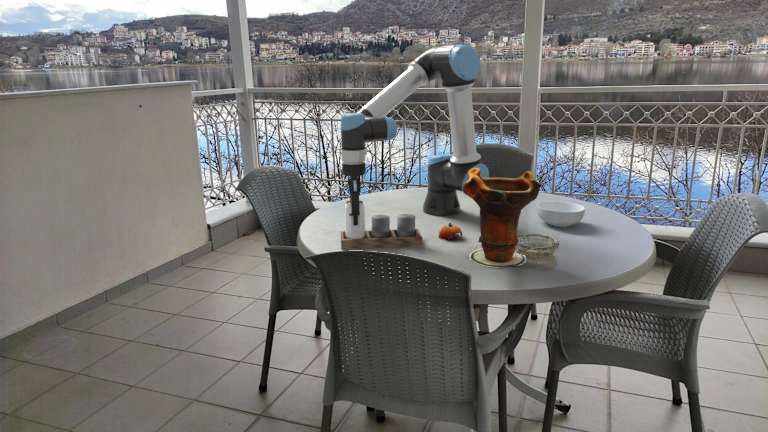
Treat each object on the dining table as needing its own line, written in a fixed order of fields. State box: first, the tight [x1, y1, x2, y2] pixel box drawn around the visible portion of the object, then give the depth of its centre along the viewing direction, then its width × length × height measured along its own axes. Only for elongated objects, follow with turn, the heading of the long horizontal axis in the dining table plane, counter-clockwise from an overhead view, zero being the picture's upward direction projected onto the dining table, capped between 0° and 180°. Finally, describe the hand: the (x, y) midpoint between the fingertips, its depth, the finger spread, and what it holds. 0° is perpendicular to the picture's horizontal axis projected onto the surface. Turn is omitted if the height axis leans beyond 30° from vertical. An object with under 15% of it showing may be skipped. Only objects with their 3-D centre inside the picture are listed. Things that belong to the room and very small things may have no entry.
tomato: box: [438, 222, 463, 241], centre depth 183 cm, size 8×7×7 cm
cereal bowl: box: [536, 200, 586, 228], centre depth 197 cm, size 17×17×7 cm
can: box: [344, 199, 366, 239], centre depth 175 cm, size 6×6×12 cm
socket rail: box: [340, 213, 423, 250], centre depth 176 cm, size 27×9×9 cm, turn 96°
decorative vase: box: [462, 168, 542, 269], centre depth 160 cm, size 21×23×28 cm
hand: (355, 230), depth 176 cm, fingers closed on can, 6 cm apart
